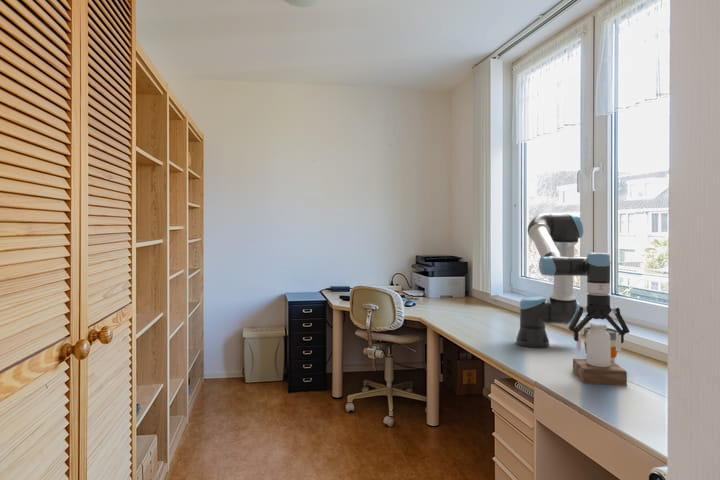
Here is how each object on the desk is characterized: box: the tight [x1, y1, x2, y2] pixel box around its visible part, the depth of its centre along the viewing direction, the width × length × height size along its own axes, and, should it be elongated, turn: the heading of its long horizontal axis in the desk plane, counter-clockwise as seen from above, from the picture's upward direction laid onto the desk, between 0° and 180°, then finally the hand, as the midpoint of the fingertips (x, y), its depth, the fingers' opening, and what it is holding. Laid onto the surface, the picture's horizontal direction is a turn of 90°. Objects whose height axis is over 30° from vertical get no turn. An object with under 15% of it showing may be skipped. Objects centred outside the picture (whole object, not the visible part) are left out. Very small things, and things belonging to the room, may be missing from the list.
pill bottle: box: [585, 323, 611, 367], centre depth 160 cm, size 8×8×15 cm
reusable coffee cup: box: [583, 326, 619, 363], centre depth 175 cm, size 13×13×15 cm
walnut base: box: [572, 358, 628, 386], centre depth 160 cm, size 14×14×5 cm
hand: (598, 350), depth 160 cm, fingers open, 13 cm apart
